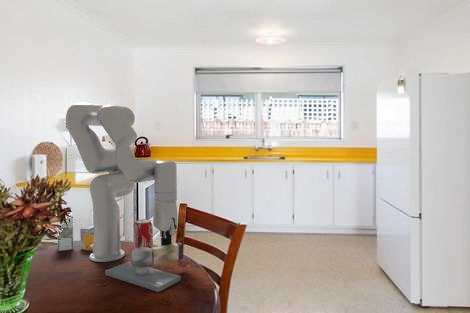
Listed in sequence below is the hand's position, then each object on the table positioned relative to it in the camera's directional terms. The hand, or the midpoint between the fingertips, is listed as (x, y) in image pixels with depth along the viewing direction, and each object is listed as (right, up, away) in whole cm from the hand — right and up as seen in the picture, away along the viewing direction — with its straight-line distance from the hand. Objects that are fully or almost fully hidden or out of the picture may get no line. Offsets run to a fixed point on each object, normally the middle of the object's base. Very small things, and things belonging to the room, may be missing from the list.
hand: (166, 248), depth 122 cm
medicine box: (-36, -6, +23) cm, 43 cm away
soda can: (-13, -6, +20) cm, 25 cm away
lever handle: (-2, -3, -5) cm, 6 cm away
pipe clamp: (-31, -6, +21) cm, 37 cm away
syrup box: (-45, -6, +21) cm, 50 cm away
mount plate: (-6, -8, -8) cm, 12 cm away
